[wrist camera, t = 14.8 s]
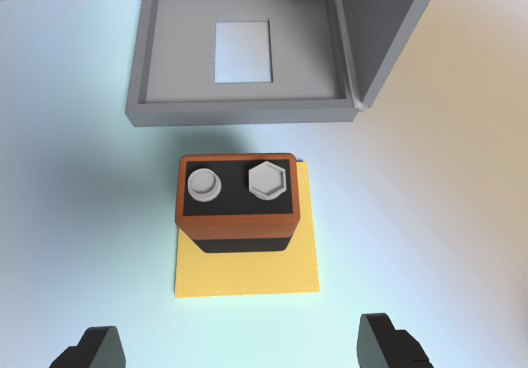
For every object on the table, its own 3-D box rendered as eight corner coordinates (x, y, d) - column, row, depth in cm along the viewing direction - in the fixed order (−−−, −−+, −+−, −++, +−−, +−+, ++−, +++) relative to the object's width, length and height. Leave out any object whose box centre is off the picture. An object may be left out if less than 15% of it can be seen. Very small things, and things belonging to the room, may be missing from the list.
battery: (287, 252, 25) (304, 218, 15) (201, 254, 24) (167, 222, 15) (284, 200, 26) (298, 141, 17) (204, 202, 26) (173, 144, 17)
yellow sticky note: (318, 291, 24) (319, 291, 24) (176, 297, 24) (174, 297, 23) (305, 164, 28) (306, 161, 28) (184, 168, 28) (183, 165, 27)
